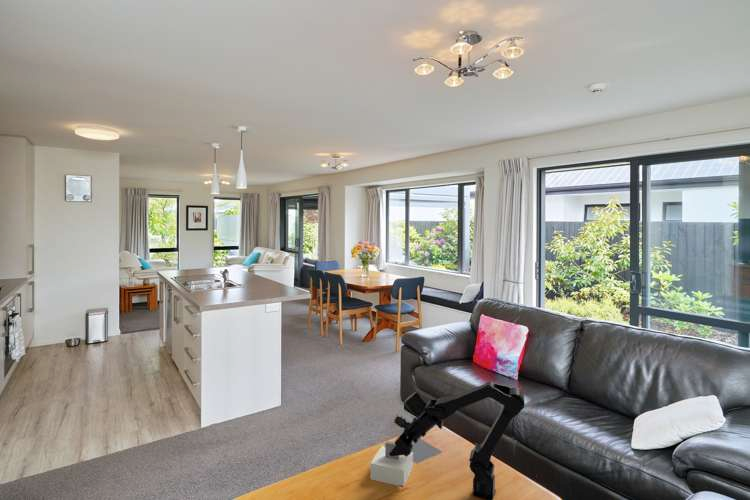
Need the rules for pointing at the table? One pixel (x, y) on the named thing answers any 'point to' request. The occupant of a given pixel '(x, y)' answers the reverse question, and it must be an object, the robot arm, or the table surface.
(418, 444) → the mat
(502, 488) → the table surface
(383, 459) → the cover
